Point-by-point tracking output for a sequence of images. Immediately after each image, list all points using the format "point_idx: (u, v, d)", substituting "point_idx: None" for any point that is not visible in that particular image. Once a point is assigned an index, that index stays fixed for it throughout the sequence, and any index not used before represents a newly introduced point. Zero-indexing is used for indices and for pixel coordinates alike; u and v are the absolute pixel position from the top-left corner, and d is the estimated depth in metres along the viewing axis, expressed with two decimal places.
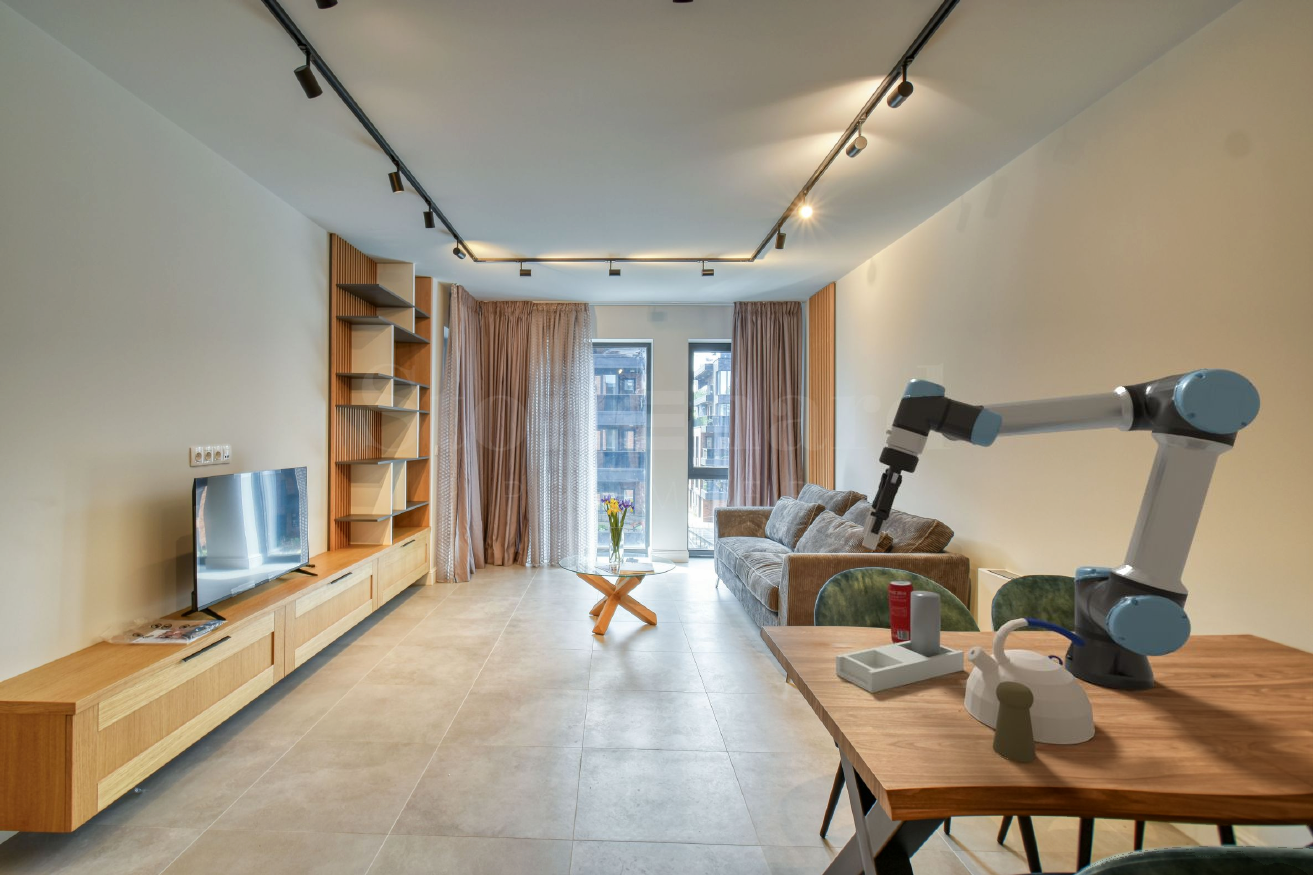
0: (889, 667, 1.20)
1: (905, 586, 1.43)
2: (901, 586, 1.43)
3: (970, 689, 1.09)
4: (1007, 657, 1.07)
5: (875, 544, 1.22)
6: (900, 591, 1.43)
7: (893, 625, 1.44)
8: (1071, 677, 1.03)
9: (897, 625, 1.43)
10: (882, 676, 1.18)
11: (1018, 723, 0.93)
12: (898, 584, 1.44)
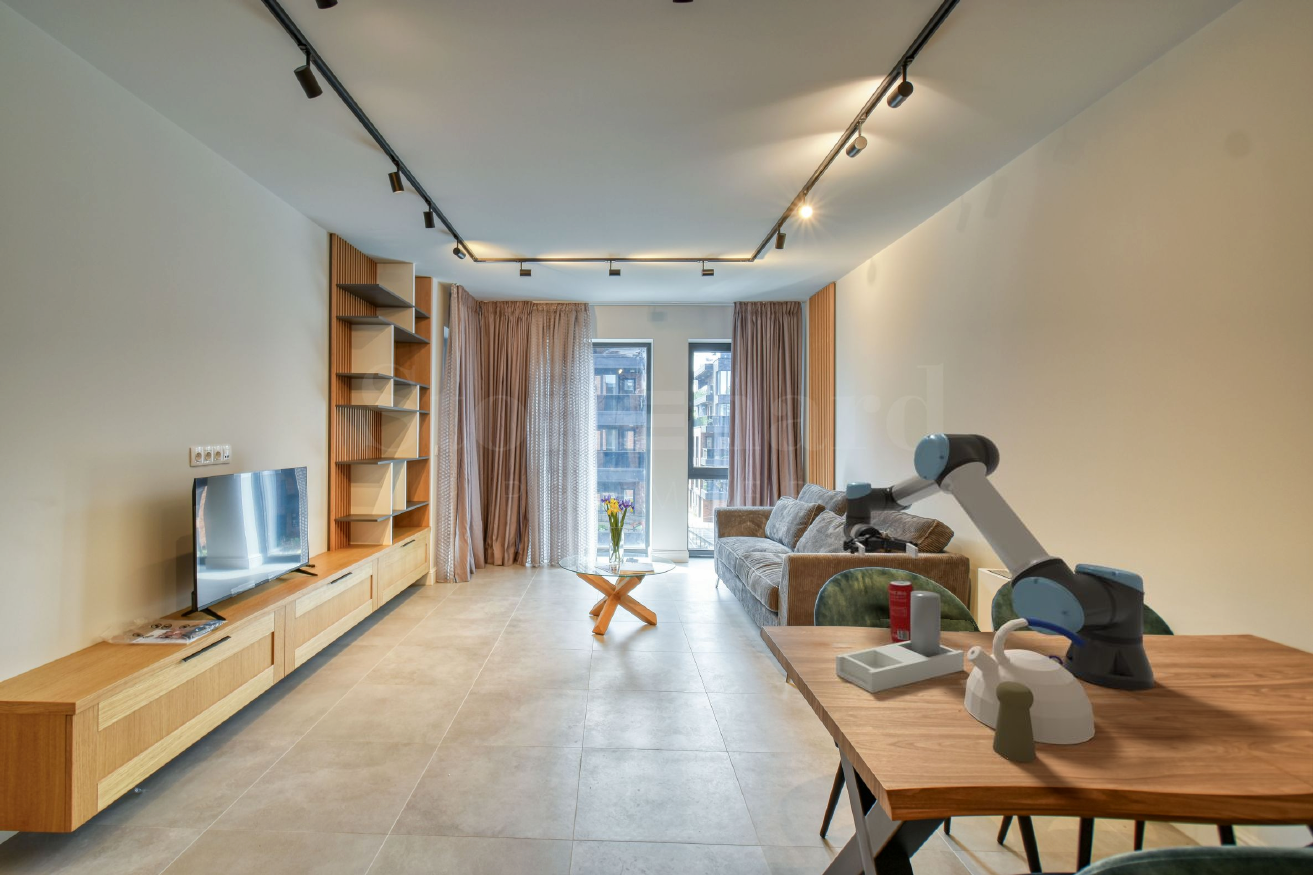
0: (889, 667, 1.20)
1: (905, 586, 1.43)
2: (901, 586, 1.43)
3: (970, 689, 1.09)
4: (1007, 657, 1.07)
5: (860, 547, 1.56)
6: (900, 591, 1.43)
7: (893, 625, 1.44)
8: (1071, 677, 1.03)
9: (897, 625, 1.43)
10: (882, 676, 1.18)
11: (1018, 723, 0.93)
12: (898, 584, 1.44)
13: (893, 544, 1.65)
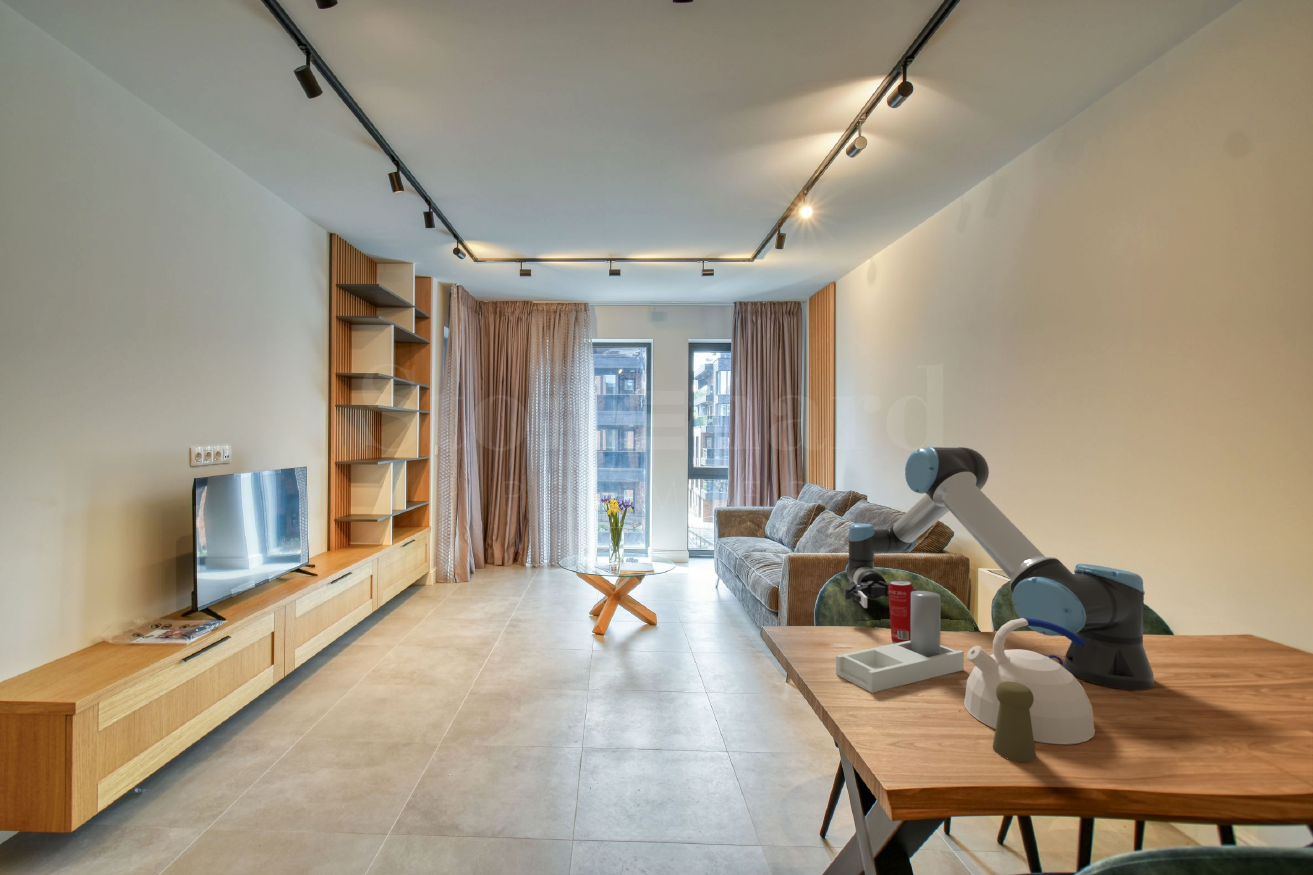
0: (889, 667, 1.20)
1: (905, 586, 1.43)
2: (901, 586, 1.43)
3: (970, 688, 1.09)
4: (1007, 657, 1.07)
5: (863, 597, 1.54)
6: (900, 591, 1.43)
7: (893, 625, 1.44)
8: (1071, 677, 1.03)
9: (897, 625, 1.43)
10: (882, 676, 1.18)
11: (1018, 724, 0.93)
12: (898, 584, 1.44)
13: None
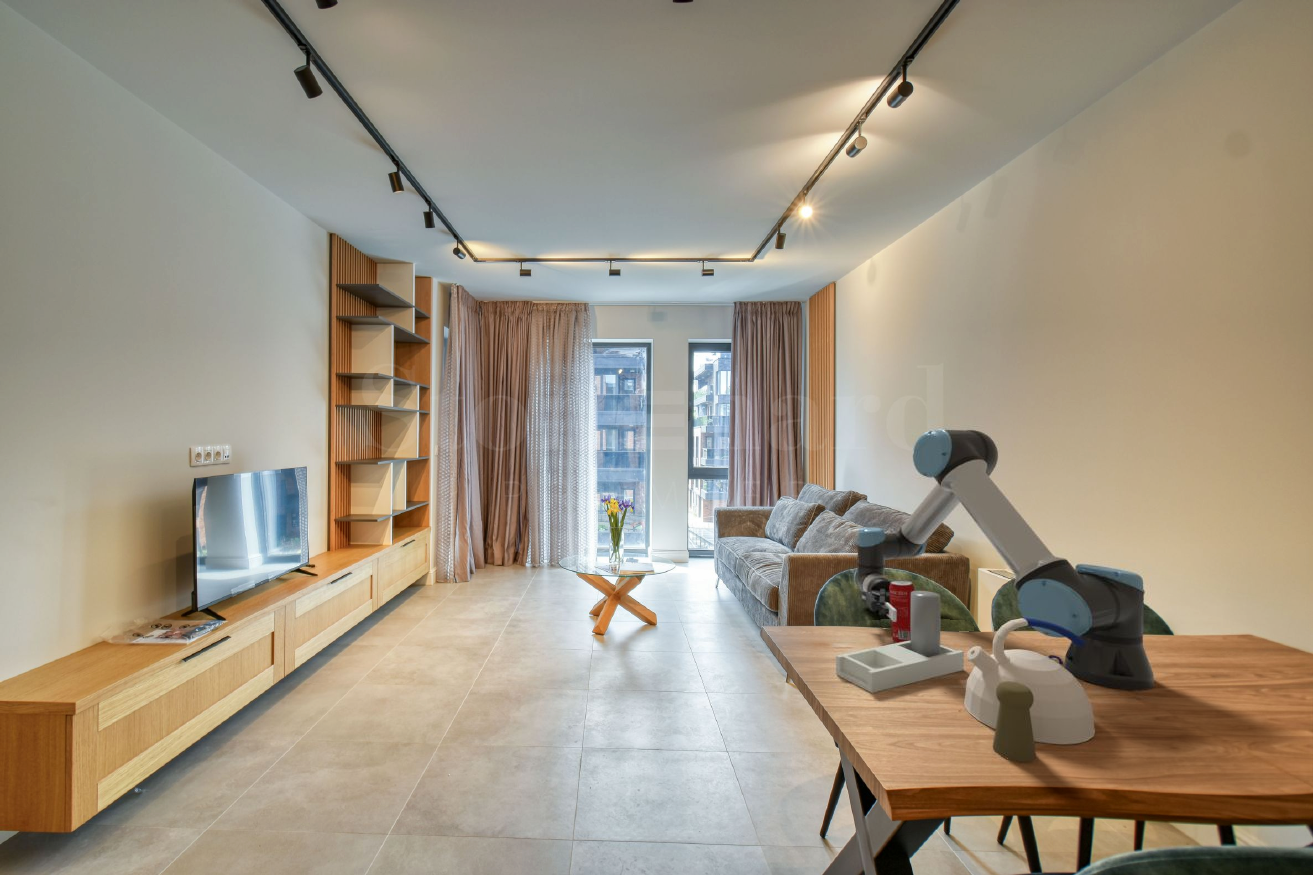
0: (889, 667, 1.20)
1: (906, 586, 1.43)
2: (902, 586, 1.43)
3: (970, 689, 1.09)
4: (1007, 657, 1.07)
5: (891, 609, 1.42)
6: (901, 591, 1.43)
7: (894, 625, 1.44)
8: (1071, 677, 1.03)
9: (898, 625, 1.43)
10: (882, 676, 1.18)
11: (1018, 723, 0.93)
12: (899, 584, 1.44)
13: None
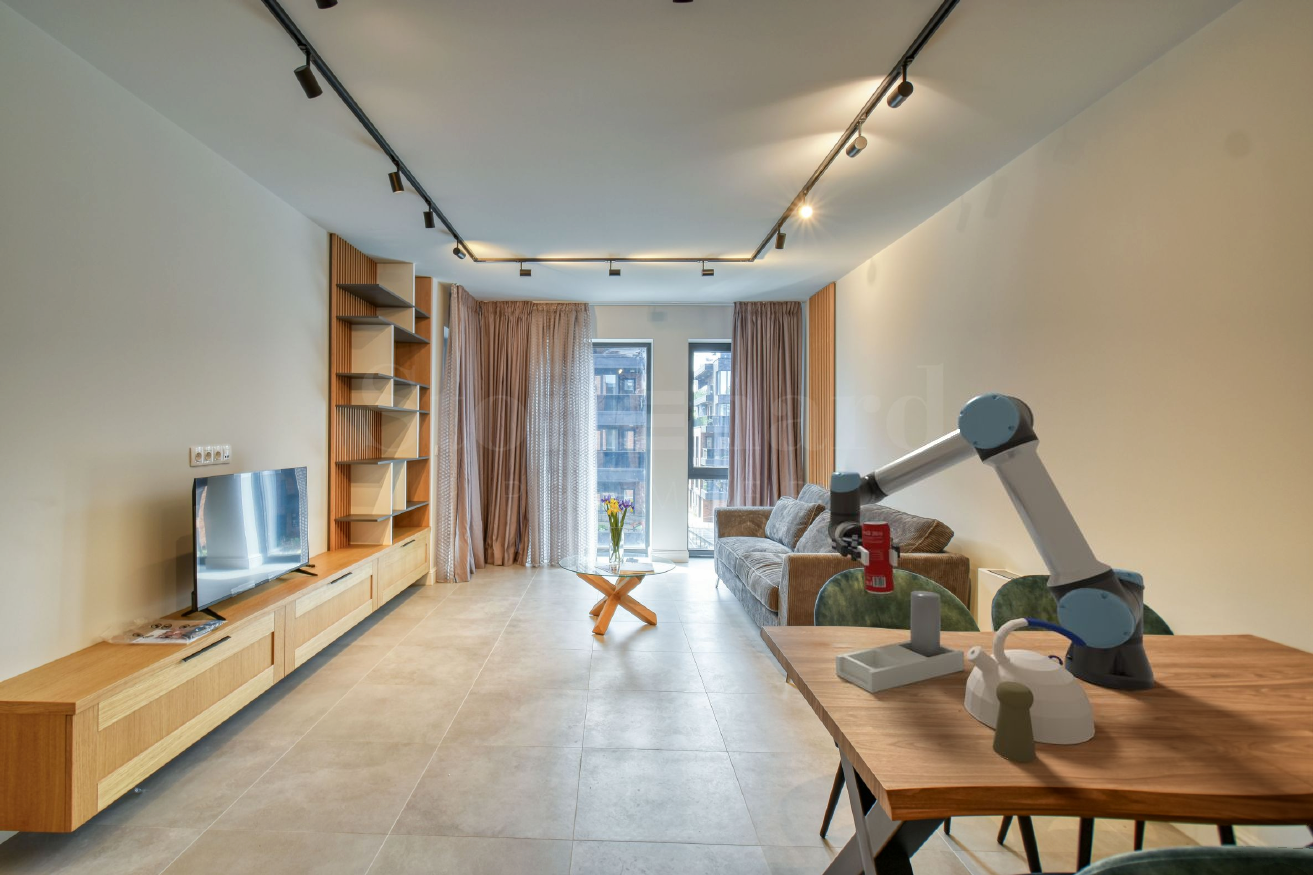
0: (889, 667, 1.20)
1: (881, 525, 1.23)
2: (877, 525, 1.23)
3: (970, 688, 1.09)
4: (1007, 657, 1.07)
5: (863, 552, 1.22)
6: (875, 531, 1.23)
7: (868, 572, 1.25)
8: (1071, 677, 1.03)
9: (873, 571, 1.24)
10: (882, 676, 1.18)
11: (1018, 724, 0.93)
12: (873, 523, 1.24)
13: None
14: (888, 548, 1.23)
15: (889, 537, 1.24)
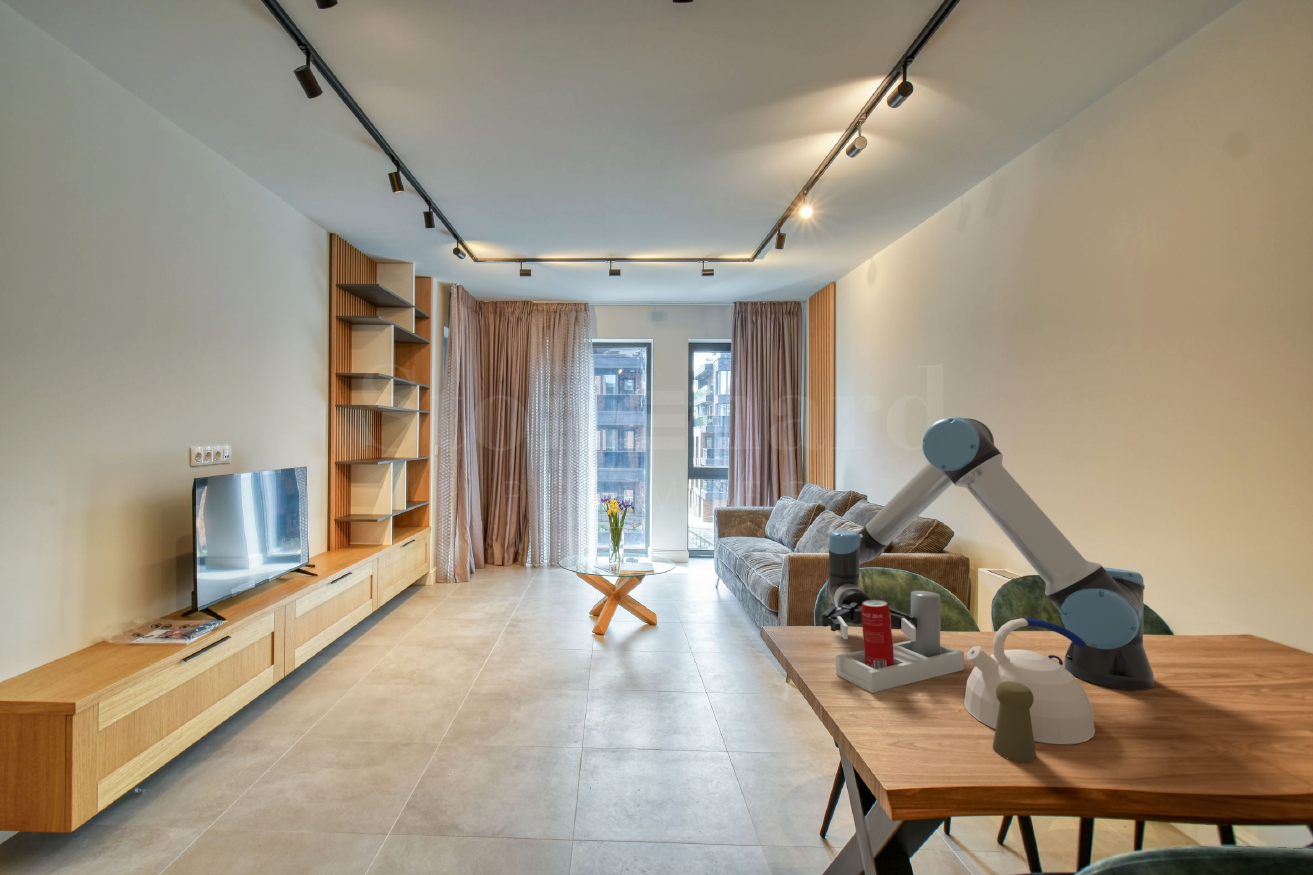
0: (889, 667, 1.20)
1: (881, 607, 1.22)
2: (877, 608, 1.22)
3: (970, 689, 1.09)
4: (1007, 657, 1.07)
5: (842, 625, 1.22)
6: (875, 614, 1.21)
7: (868, 654, 1.23)
8: (1071, 677, 1.03)
9: (873, 654, 1.22)
10: (882, 676, 1.18)
11: (1018, 724, 0.93)
12: (873, 605, 1.23)
13: None
14: (888, 630, 1.22)
15: (889, 619, 1.22)
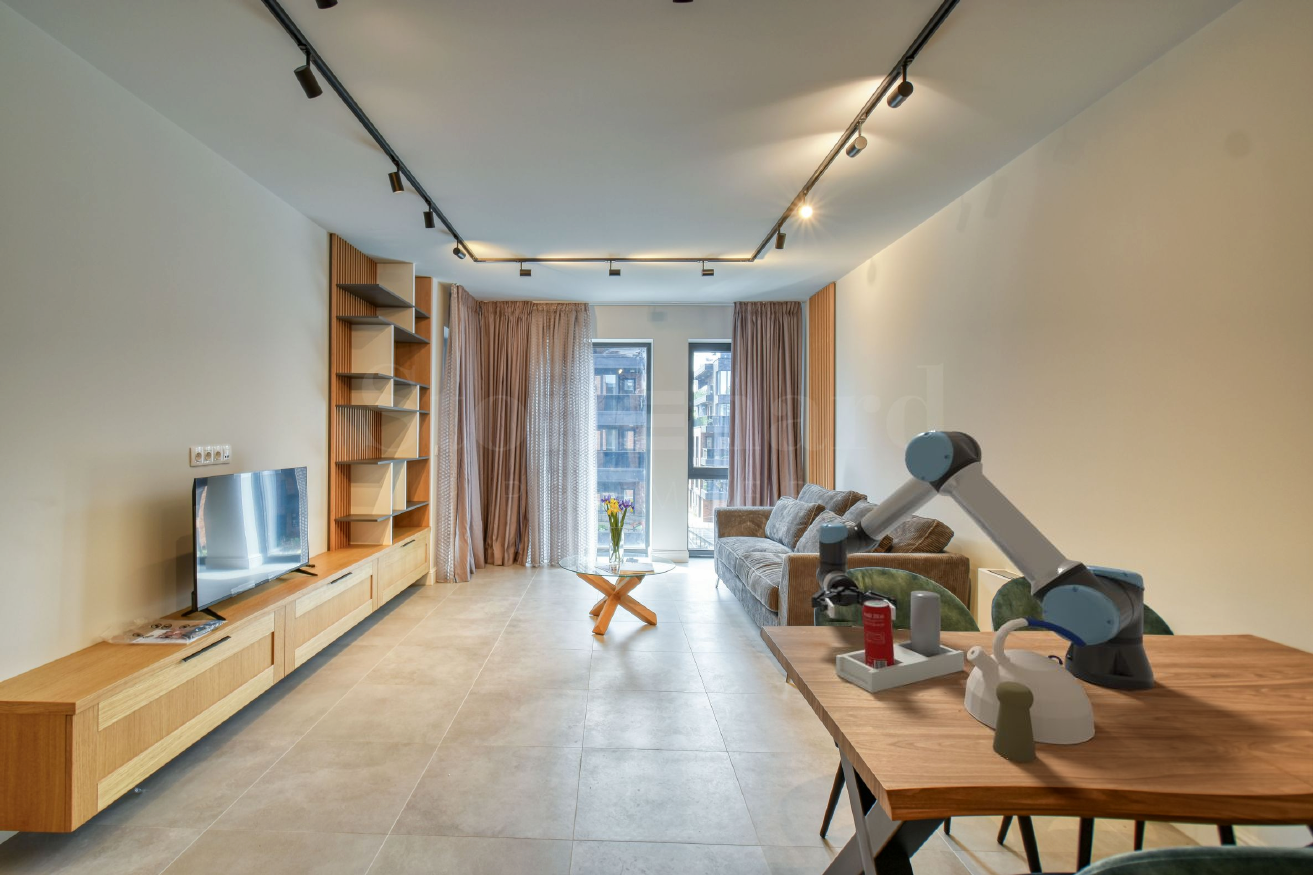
0: (889, 667, 1.20)
1: (883, 608, 1.22)
2: (878, 608, 1.22)
3: (970, 689, 1.09)
4: (1007, 657, 1.07)
5: (829, 606, 1.35)
6: (877, 614, 1.21)
7: (869, 654, 1.23)
8: (1071, 677, 1.03)
9: (874, 654, 1.22)
10: (882, 676, 1.18)
11: (1018, 724, 0.93)
12: (874, 605, 1.23)
13: (869, 599, 1.44)
14: (889, 631, 1.22)
15: (890, 619, 1.22)
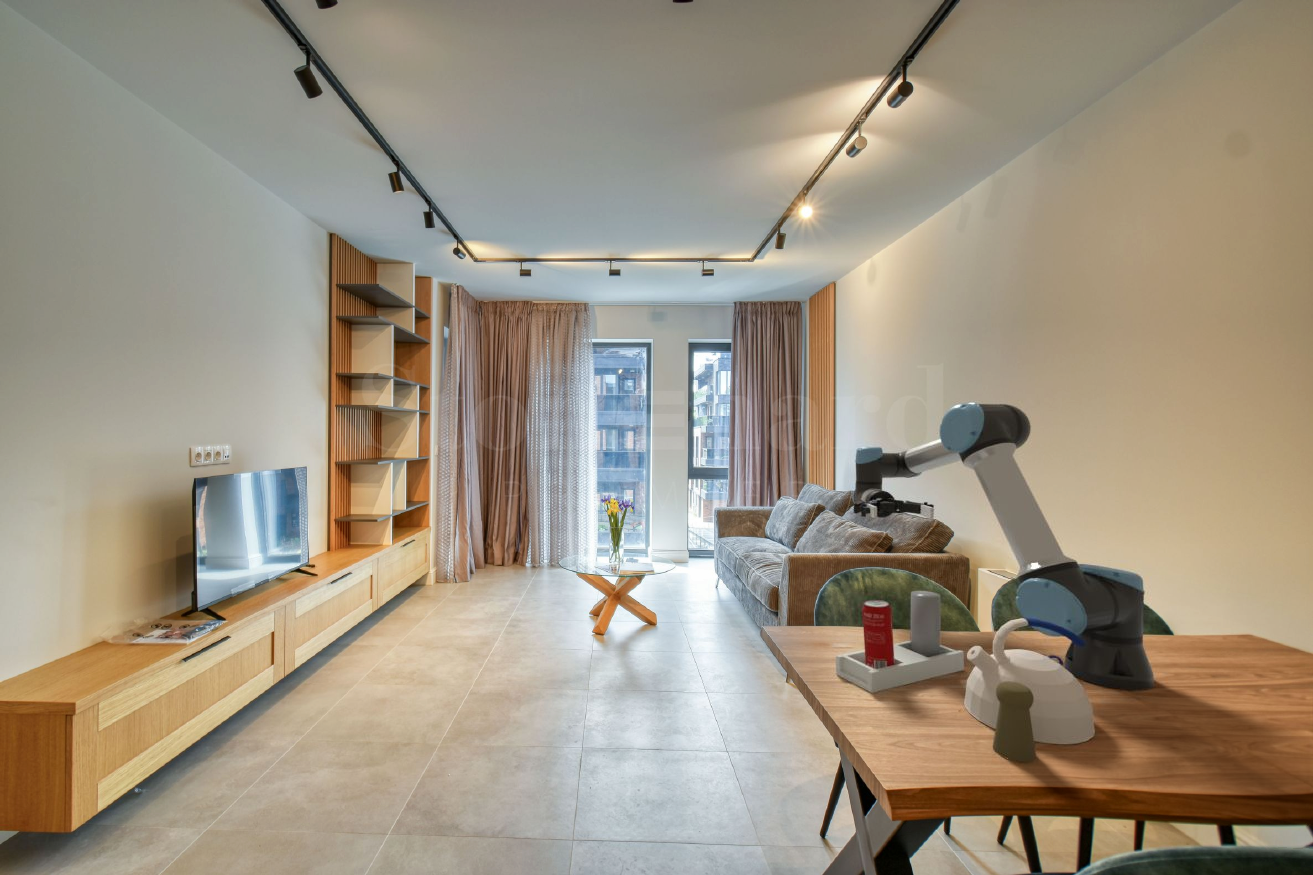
0: (889, 667, 1.20)
1: (883, 608, 1.22)
2: (878, 608, 1.22)
3: (970, 688, 1.09)
4: (1007, 657, 1.07)
5: (872, 507, 1.47)
6: (877, 614, 1.21)
7: (869, 654, 1.23)
8: (1071, 677, 1.03)
9: (874, 654, 1.22)
10: (882, 676, 1.18)
11: (1018, 724, 0.93)
12: (874, 605, 1.23)
13: (907, 507, 1.55)
14: (889, 631, 1.22)
15: (890, 619, 1.22)
